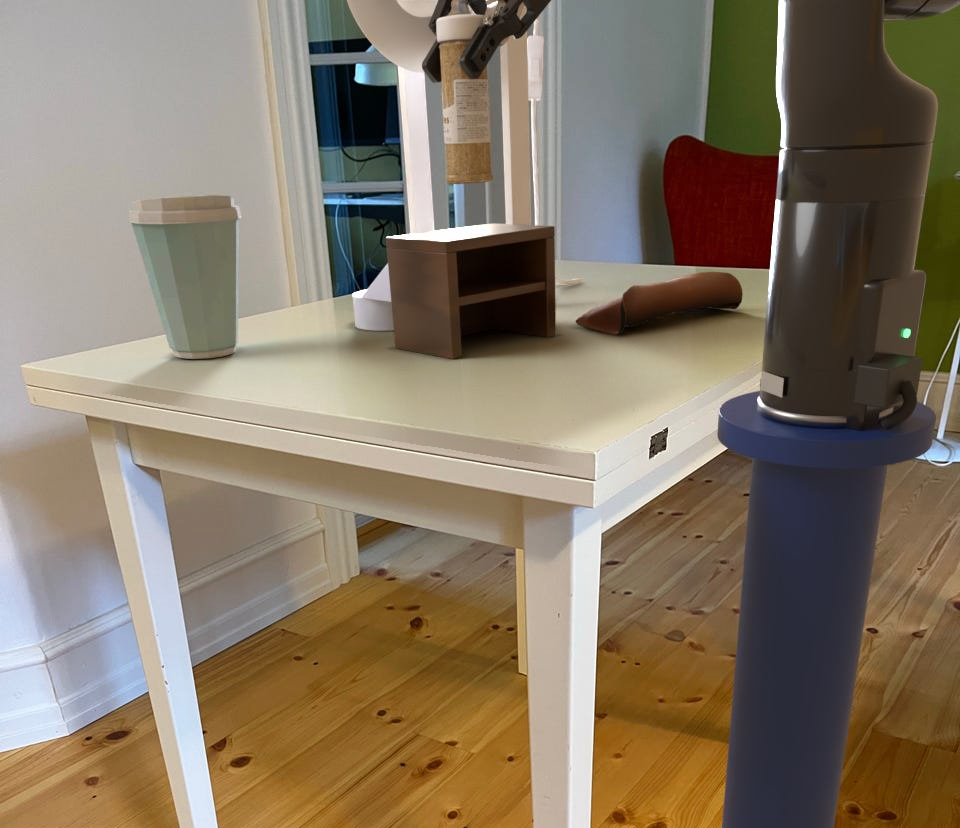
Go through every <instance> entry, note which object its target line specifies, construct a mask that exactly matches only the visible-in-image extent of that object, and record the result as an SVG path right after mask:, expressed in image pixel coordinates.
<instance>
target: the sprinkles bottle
mask: <svg viewBox="0 0 960 828" xmlns="http://www.w3.org/2000/svg"><path fill="white" fill-rule="evenodd" d="M483 18H484V15H476V14H463V15H451V16H445V17H441V18H438V19H437V21H436V30H437V41H438V42H439V43H440V46H439V48H440V60H441V78H442V80H441V82H440V83H441V105H442V106H441V107H442V123H443V142H444V143H443V144H444V146H445V147H444V149H445V164H446V166H445V167H446V168H445V169H446V175H445V182H446V183H447V184H451V185H464V184H477V183H478V184H479V183H480V184H481V183H489V182H491V181H492V180H493V179H494V175H493V172H492V159H491V157H492V155H491V143H492V135H491V134H492V133H491V112H490V88H489V87H490V84H489V83H490V82H489V78H488V76H489V75H488V65H487V66H486V67H485V69H484V70H483V72H482V74H481V75H480V77H479V78H478V79H470V78H469V77H468V76H467V75H466V73H465V72H464V70H463V69H462V67H461V66H460V63H459V59H460V57H461V55H462V53H463V52H464V50H465V48H466V47H467V45H468V43H469V42H470V40H471V38H472V37H473V35H474V33H475V32H476V30H477V28H478V27H482V26H484V25H483V23H482V21H483ZM484 27H485V26H484Z"/></svg>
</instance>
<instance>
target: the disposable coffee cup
mask: <svg viewBox="0 0 960 828" xmlns="http://www.w3.org/2000/svg"><path fill="white" fill-rule="evenodd" d="M242 218H243V215H242V212H241V207H240V206H239V205H238V204H237V205H236V204H235V198H234V197H232V196H230V195H220V194H219V195H217V194H216V195H215V194H206V195H205V194H204V195H203V194H201V195H200V194H199V195H183V196H182V195H179V196H178V195H177V196H176V195H175V196H160V197H152V198H144V199H143V198H142V199H138V200H133V201H132V209H130V210H129V211H128V219H129V221H128V223H130V224H131V227H132V230H133V233H134V236H135V239H136V240H135V241H136V243H137V246H138V250H139V252H140V255H141V259H142V263H143V265H144V269H145V271H146V275H147V279H148V282H149V285H150V289H151V291H152V295H153V298H154V302H155V305H156V309H157V311H158V314H159V317H160V321H161V324H162V327H163V331H164V333H165V334H164V335H165V337H166V341H167V343H168V346H169V349H171V350H172V353H173V356H174V357H177V358H179V359H191V360H199V359H214V358H220V357H226V356H229V355H232V354H235V352H236V350H237V344H239V289H240V287H239V280H240V278H239V273H240V220H241V219H242Z"/></svg>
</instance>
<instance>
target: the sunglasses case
mask: <svg viewBox="0 0 960 828" xmlns="http://www.w3.org/2000/svg"><path fill="white" fill-rule="evenodd" d="M743 295H744V294H743V288H742V285H741V282H740V281H739V280H738V278H737V277H736V276H735V275H733V274H732V273H729V272H724V271H722V272H721V271H702V272H697V273H691V274H687V275H682V276H679V277H676V278H672V279H670V280H667V281H661V282H656V283H649V284H648V283H647V284H633V285H631V286H630V287H629V288H628V289H627V290H626V291H624V292H623V293H622V297H620V298H617V299H613V300H611V301H608V302H604V303H602V304H600V305H598V306H595V307H594V308H593V307H592V309H590V310H588V311H587V312H585V313H584V314H582V315H581V316H579V317H578V318H577V319H575V323H576V325H578V326H581V327H583V328H584V329H585V328H586V329H587V330H591V331H593V332H598V333H603V334H608V335H614V336H617V335H619V334H621V333H622V332H623V331H624V330H625V329H626V327H628V328H634V327H635V326H639V325H643V324H645V323H648V322H653V321H655V320H657V319H658V318H659V319H660V318H661V319H662V318H666V317H667V316H670V315H672V314H682V313H688V312H693V311H696V310H699V309H710V308H711V309H719V310H721V309H722V310H728V309H729V310H730V309H731V310H736V309H738V308H739V307H740V305H741V304H742V301H743Z"/></svg>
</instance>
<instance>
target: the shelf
mask: <svg viewBox="0 0 960 828" xmlns="http://www.w3.org/2000/svg"><path fill="white" fill-rule="evenodd" d="M555 229H556V228H555V226H554V225H541V224H540V225H535V224H531V225H518V224H506V223H495V222H494V223H493V222H491V223H486V224H485V223H484V224H478V225H477V224H476V225H469V226H462V227H454V228H447V229H439V230H435V231H431V232H423V233H415V234H410V233H409V234H408V233H407V234H401V235H393V236H386V237H385V243H386V244H385V246H386V255H387V263H388V269H389V281H390V293H391V305H392V316H393V328H394V330H393V339H394V348H395V349H399V350H405V351H409V352H414V353H419V354H424V355H429V356H430V355H431V356H434V357H441V358H445V359H451V360H454V359H458V358H463V350H462V348H463V347H462V337H463V336H466V335H471V334H476V333H481V332H484V331H489V330H500V331H504V332H505V331H507V332H512V333H518V334H519V333H520V334H526V335H532V336H537V337H538V336H540V337H546V338H549V337H554V336H556V335H557V332H556V331H557V329H556V328H557V326H556V325H557V324H556V320H557V319H556V318H557V317H556V283H555V278H556V246H555V245H556V240H555V237H556V235H555V233H556V230H555Z"/></svg>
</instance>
